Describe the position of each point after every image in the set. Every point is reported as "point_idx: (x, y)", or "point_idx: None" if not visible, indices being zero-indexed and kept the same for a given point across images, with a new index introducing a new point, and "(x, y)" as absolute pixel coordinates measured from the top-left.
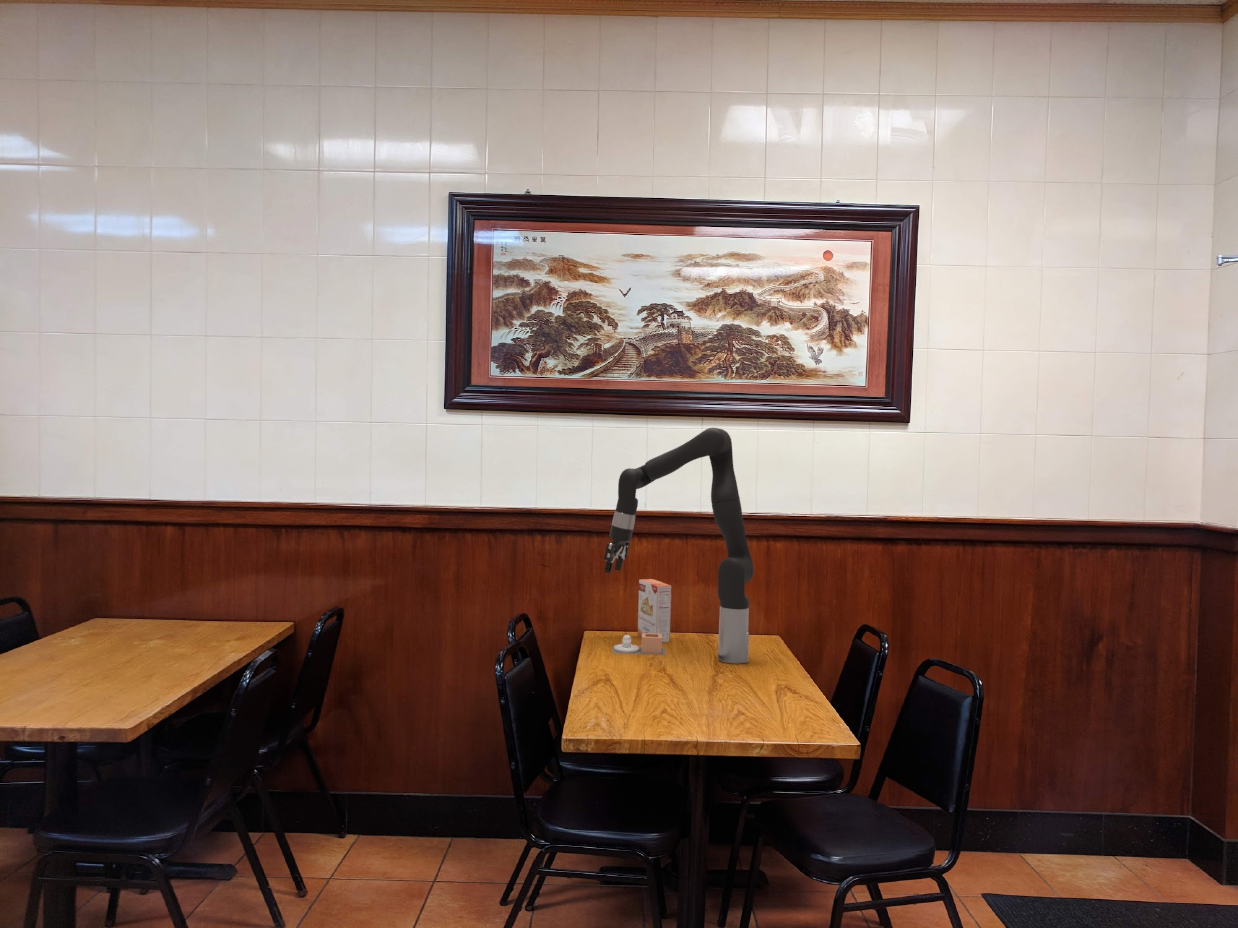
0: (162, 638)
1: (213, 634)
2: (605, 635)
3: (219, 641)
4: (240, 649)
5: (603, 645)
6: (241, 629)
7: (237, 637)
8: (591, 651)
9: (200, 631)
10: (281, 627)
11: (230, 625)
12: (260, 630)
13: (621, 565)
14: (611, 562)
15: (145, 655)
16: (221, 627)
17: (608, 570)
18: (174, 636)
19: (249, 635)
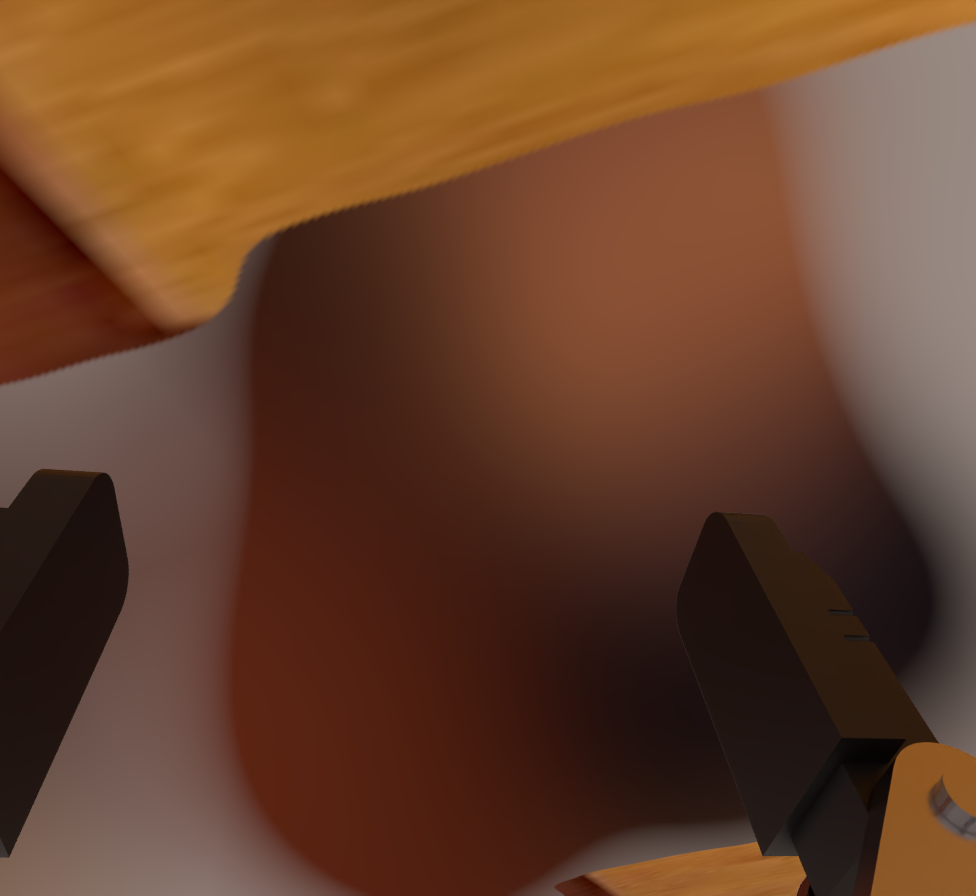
0: (787, 891)
1: (740, 879)
2: (205, 141)
3: (798, 859)
4: None
5: (562, 37)
6: (686, 878)
7: (758, 860)
8: (792, 67)
9: (720, 891)
10: (646, 863)
11: (656, 892)
12: (686, 866)
13: (23, 572)
14: (953, 766)
15: None
16: (678, 891)
17: (829, 580)
18: (769, 890)
19: (736, 859)
